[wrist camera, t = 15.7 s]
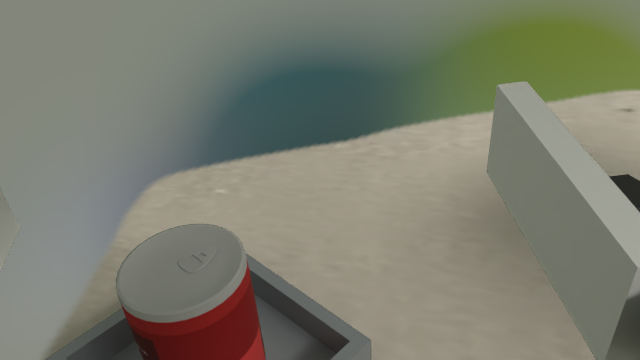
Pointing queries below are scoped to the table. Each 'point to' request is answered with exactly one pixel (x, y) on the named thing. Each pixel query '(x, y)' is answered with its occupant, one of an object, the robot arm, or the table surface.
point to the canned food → (191, 296)
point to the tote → (275, 321)
